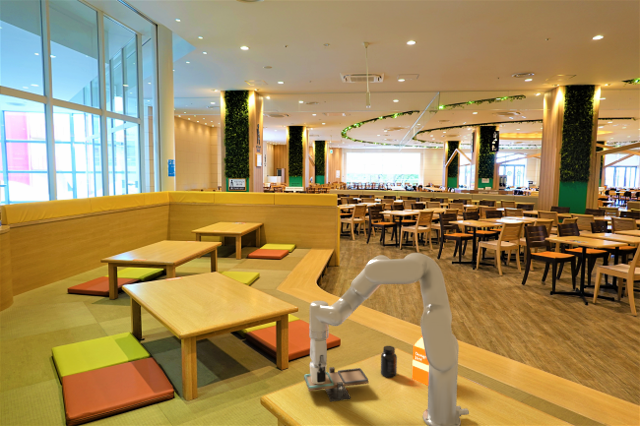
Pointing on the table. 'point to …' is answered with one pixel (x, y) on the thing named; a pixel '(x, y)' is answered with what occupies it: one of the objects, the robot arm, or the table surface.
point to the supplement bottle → (388, 362)
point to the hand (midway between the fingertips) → (318, 375)
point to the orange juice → (420, 363)
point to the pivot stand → (337, 390)
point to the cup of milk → (315, 373)
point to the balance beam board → (338, 379)
